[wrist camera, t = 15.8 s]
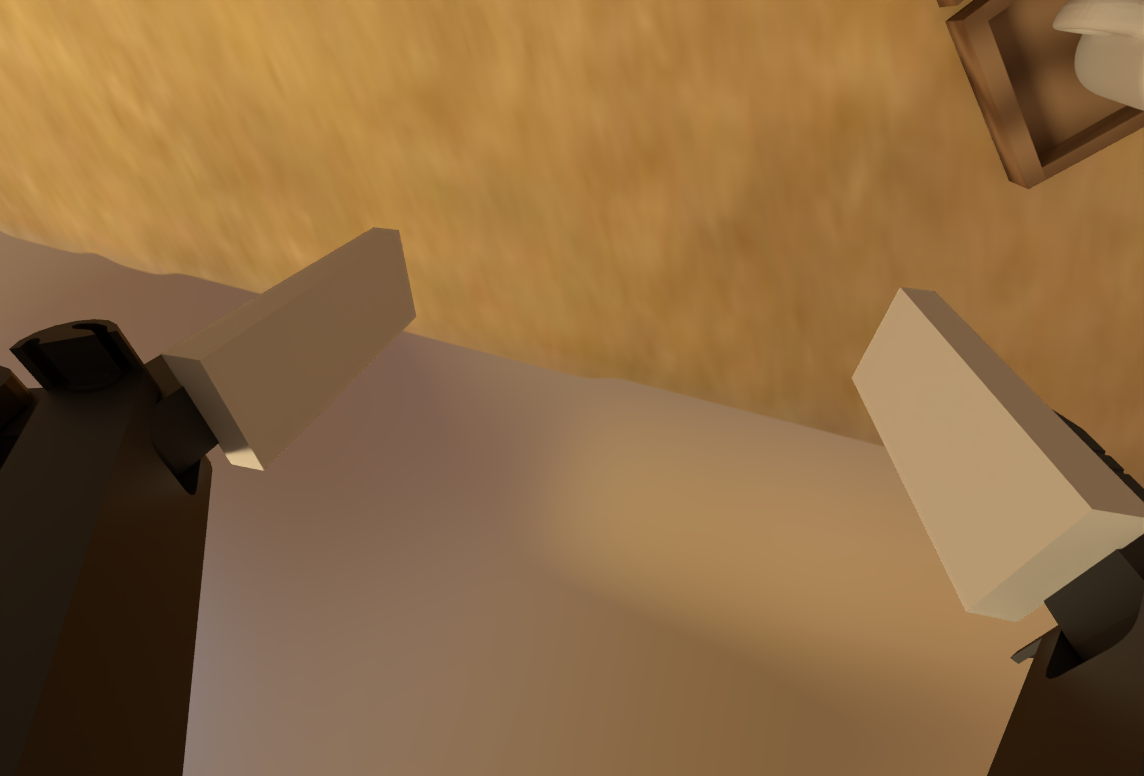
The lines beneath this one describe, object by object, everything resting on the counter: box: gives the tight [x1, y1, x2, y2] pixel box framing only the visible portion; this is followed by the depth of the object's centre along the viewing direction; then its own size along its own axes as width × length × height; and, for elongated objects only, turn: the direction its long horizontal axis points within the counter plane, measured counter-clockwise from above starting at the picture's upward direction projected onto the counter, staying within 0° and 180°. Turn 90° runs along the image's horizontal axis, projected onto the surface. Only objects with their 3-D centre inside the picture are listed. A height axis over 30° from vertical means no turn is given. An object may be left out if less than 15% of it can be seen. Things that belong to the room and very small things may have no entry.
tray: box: [946, 0, 1144, 189], centre depth 28 cm, size 13×13×2 cm
